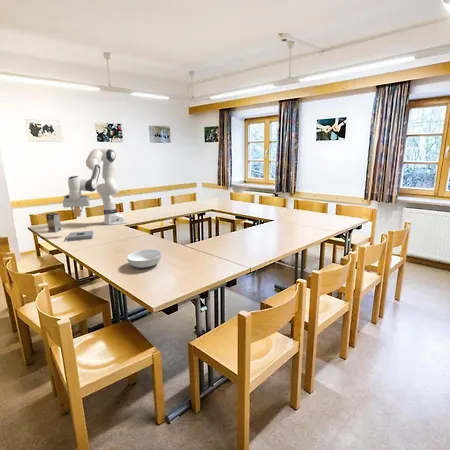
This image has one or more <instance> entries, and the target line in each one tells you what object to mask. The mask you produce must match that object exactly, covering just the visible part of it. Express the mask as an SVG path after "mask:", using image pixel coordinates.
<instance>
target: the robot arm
mask: <svg viewBox="0 0 450 450" xmlns="http://www.w3.org/2000/svg"><path fill="white" fill-rule="evenodd" d="M116 154H117V153H116V152H115V150H113V149H108V148H93V149H92V150H91V151H90V152H89V154H88V156H87V158H86V159H85V166H86V167H87V168H88V170H91V175H90V178H89V179H83V178H80V177H79V176H78V175H71V176H69V177H68V180H67V186H68V190H69V191H68V193H69V194H66V195H63V200H62V207H63V208H65V209H66V208H70V209H71V210H72V213H75V212H74V207H80V212H81V213H82V212H83V208H84V207H90V205H91V203H90V196H89V195H82V191H83V192H90V193H91V192H95V191H96V192H97V193H98V195H99V196H100V198H101V200H102V203H103V216H104V217H103V218H104V219H103V220H104V221H103V225H109V226H114V225H115V226H116V225H121V224H127V223H128V220H127V219H126V218H125V215H124V214H122V213H120V212H119V211H120V210H119V209H118V208H117V206H116V200H115V199H114V198H113V196H117V195H118V194H119V192H120V188H119V186H118V185H117V183H116V179H115V174H116V172H115V169H116V163H115V160H116V156H117V155H116ZM101 162H102V168H101V166H100V165H101ZM101 169H102V170H101ZM101 171H102V172H101ZM100 173H101V177H102V178H103V180H104V182H103V183H99V184H98V181H99V176H100Z"/></svg>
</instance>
